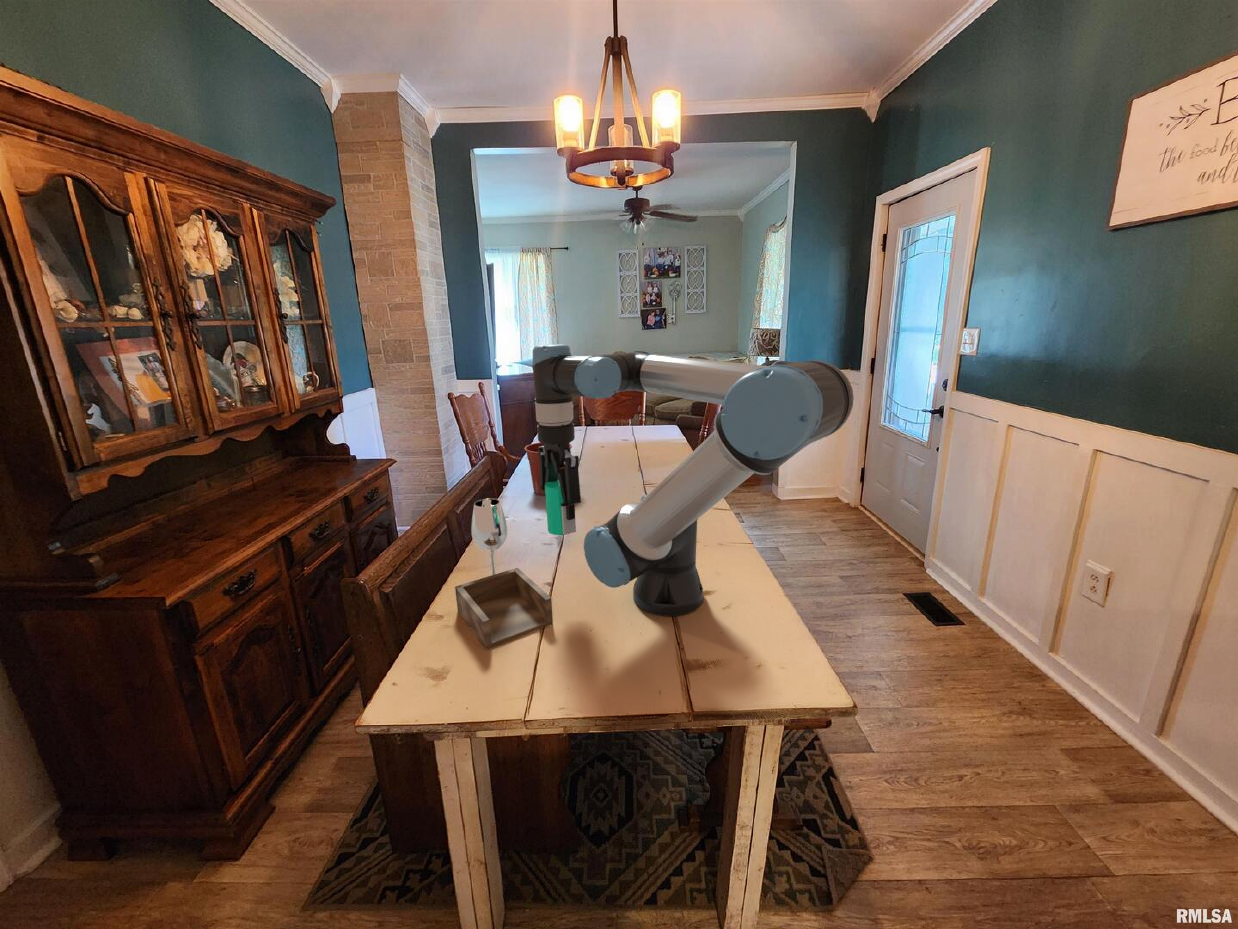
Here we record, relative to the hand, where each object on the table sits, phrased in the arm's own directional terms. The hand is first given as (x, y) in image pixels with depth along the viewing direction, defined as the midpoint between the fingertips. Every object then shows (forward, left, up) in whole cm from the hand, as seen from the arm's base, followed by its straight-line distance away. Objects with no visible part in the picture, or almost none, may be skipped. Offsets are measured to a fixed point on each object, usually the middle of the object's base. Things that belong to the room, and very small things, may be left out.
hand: (561, 527), depth 111 cm
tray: (-2, +15, -15) cm, 22 cm away
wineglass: (+13, +11, -16) cm, 23 cm away
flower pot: (+65, -31, -16) cm, 74 cm away
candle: (0, 0, -1) cm, 1 cm away
